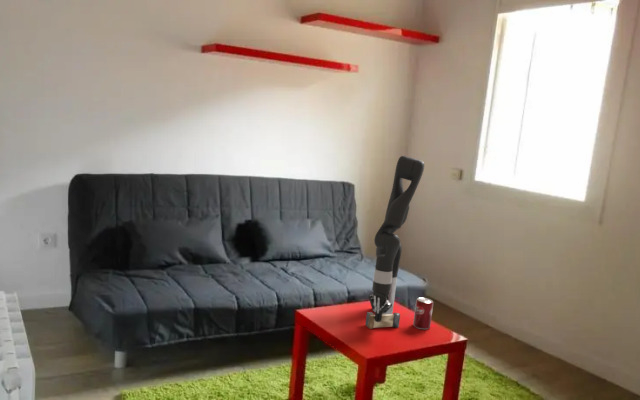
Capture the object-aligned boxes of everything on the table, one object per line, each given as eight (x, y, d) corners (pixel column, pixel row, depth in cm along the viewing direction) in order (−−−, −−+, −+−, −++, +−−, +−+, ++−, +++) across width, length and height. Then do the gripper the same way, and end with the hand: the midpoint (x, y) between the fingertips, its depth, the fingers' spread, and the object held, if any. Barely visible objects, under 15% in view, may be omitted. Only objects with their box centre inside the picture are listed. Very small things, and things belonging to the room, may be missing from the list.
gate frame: (364, 324, 239) (366, 311, 239) (397, 325, 242) (398, 312, 242) (366, 327, 236) (368, 314, 236) (399, 327, 240) (401, 315, 239)
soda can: (416, 329, 239) (420, 302, 238) (410, 323, 246) (414, 297, 245) (432, 330, 241) (436, 303, 239) (426, 323, 248) (429, 297, 246)
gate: (390, 325, 241) (392, 313, 240) (392, 327, 239) (394, 314, 238) (367, 327, 236) (369, 314, 235) (369, 328, 234) (371, 316, 234)
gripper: (400, 284, 228) (395, 325, 230) (379, 275, 239) (374, 315, 241) (385, 285, 224) (380, 327, 226) (365, 276, 234) (360, 316, 237)
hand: (377, 321), depth 233 cm, fingers closed
